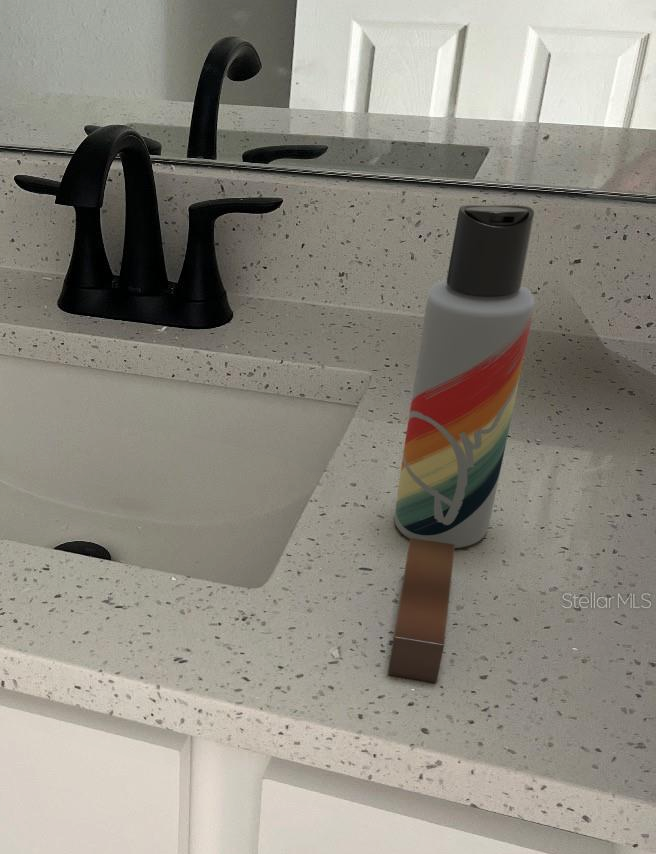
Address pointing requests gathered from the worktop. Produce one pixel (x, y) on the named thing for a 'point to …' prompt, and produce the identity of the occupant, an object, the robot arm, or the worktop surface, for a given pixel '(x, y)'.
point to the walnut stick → (422, 611)
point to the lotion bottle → (466, 379)
